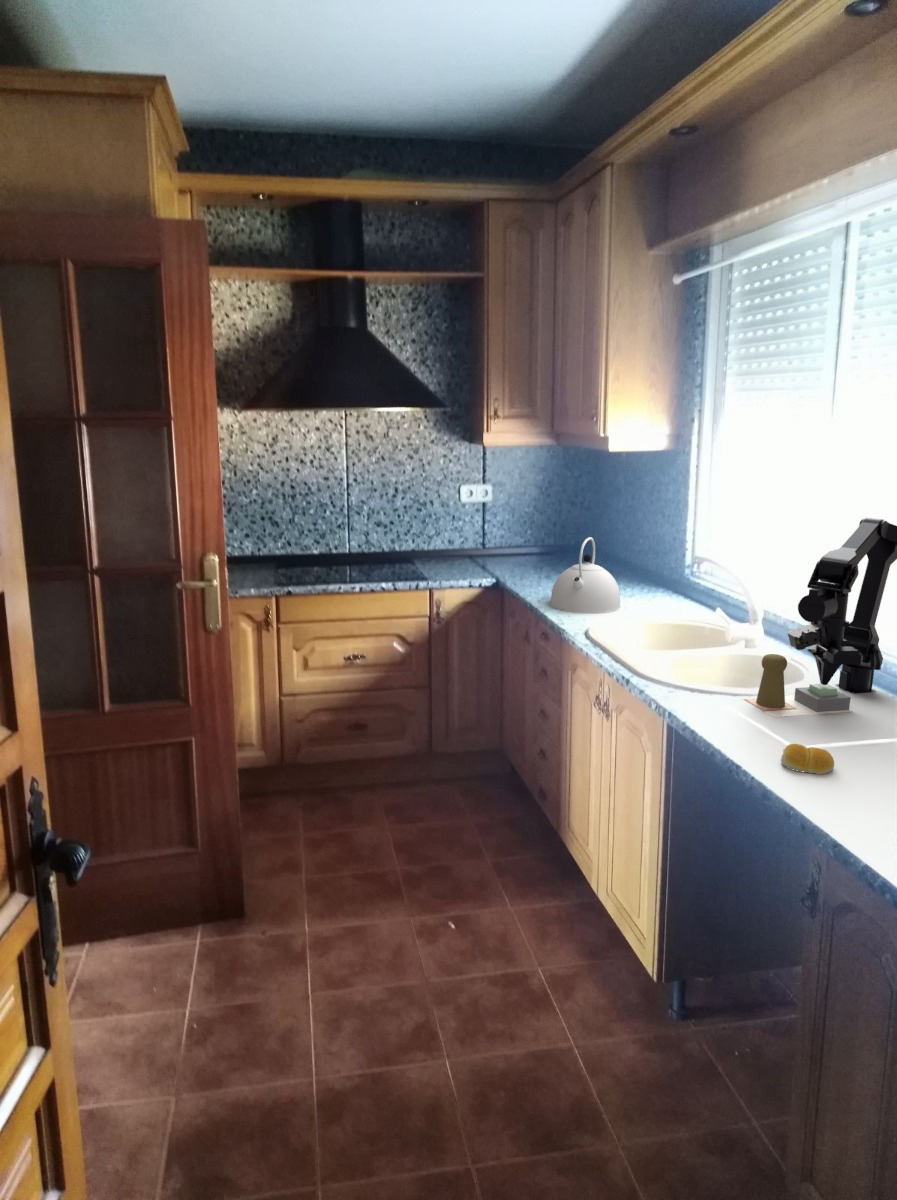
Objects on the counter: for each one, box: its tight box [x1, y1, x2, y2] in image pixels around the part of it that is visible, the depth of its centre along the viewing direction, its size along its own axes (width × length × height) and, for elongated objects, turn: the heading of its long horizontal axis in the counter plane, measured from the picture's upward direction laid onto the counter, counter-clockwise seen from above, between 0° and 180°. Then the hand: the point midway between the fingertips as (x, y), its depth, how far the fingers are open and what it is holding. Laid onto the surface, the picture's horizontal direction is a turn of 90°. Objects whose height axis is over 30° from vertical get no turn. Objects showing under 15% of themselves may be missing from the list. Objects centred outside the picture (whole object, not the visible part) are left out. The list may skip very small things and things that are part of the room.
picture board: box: [743, 686, 853, 718], centre depth 192 cm, size 19×12×3 cm, turn 103°
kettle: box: [550, 536, 621, 614], centre depth 285 cm, size 25×23×22 cm
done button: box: [808, 683, 838, 697], centre depth 191 cm, size 4×4×2 cm
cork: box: [756, 653, 788, 708], centre depth 191 cm, size 6×6×11 cm
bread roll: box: [780, 743, 835, 775], centre depth 160 cm, size 8×9×4 cm
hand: (823, 684), depth 191 cm, fingers closed
